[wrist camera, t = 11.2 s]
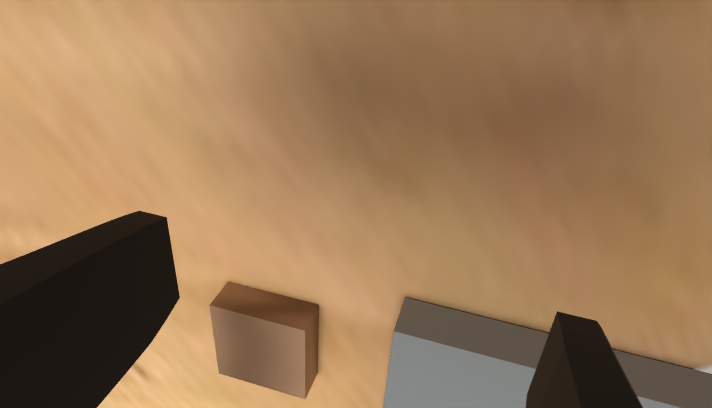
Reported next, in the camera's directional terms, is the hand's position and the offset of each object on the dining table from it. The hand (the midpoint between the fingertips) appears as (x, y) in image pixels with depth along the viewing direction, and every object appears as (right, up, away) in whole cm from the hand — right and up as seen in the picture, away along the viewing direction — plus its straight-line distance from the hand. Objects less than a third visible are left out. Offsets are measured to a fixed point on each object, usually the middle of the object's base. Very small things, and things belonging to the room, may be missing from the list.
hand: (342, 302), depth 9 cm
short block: (-4, -4, +16) cm, 17 cm away
